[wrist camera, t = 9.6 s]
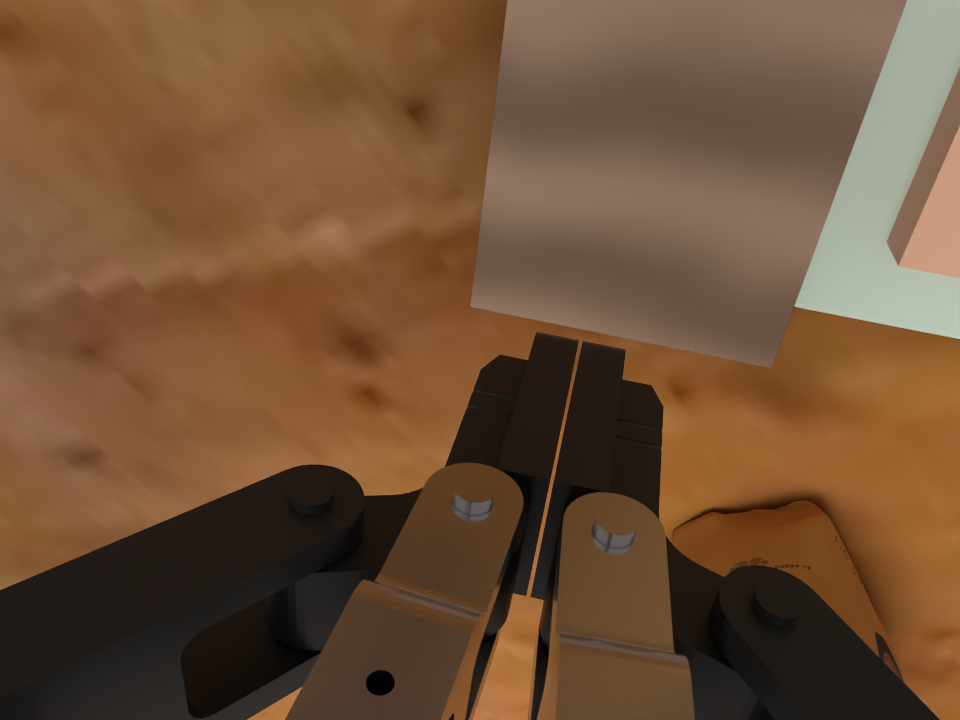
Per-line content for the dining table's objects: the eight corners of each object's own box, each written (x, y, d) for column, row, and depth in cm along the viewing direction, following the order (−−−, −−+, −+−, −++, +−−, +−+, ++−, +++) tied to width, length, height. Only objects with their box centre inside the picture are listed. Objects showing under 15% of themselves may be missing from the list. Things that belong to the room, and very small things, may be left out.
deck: (555, -231, 27) (536, -239, 24) (938, -182, 26) (974, -184, 22) (489, 263, 37) (470, 306, 34) (763, 318, 36) (771, 368, 32)
